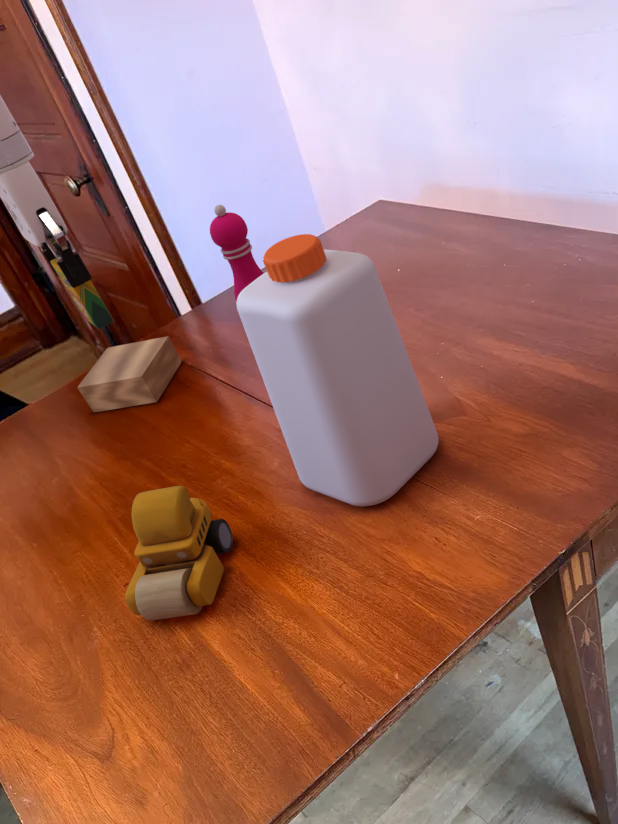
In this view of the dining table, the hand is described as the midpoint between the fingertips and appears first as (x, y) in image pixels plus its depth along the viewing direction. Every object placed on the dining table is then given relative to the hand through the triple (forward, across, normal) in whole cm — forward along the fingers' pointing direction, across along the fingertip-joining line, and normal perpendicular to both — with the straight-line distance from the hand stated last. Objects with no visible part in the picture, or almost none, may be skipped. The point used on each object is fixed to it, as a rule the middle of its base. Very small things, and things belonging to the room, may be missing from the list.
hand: (73, 277), depth 112 cm
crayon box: (+7, 0, 0) cm, 7 cm away
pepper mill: (+20, +2, +25) cm, 32 cm away
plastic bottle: (+20, +53, +12) cm, 58 cm away
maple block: (+20, 0, 0) cm, 20 cm away
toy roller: (+20, +52, -13) cm, 57 cm away
